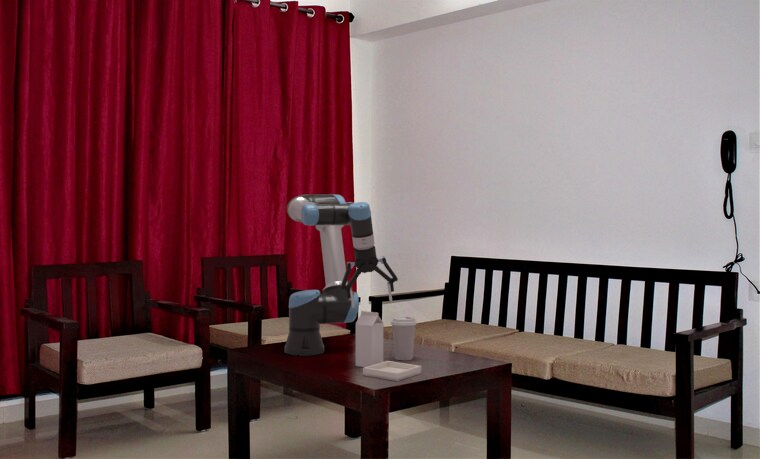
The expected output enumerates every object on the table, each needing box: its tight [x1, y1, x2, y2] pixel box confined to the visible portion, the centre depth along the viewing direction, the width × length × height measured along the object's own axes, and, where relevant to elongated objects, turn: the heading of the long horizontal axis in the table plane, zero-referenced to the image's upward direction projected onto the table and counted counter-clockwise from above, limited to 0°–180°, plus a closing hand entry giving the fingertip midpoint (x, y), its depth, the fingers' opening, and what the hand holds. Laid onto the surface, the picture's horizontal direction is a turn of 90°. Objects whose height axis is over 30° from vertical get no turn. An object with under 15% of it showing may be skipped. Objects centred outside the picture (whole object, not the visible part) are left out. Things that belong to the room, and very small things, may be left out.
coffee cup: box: [390, 315, 418, 361], centre depth 272 cm, size 10×10×15 cm
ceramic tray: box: [362, 360, 422, 382], centre depth 247 cm, size 14×14×2 cm
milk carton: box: [355, 310, 384, 368], centre depth 260 cm, size 7×7×19 cm
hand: (372, 303), depth 265 cm, fingers open, 13 cm apart
